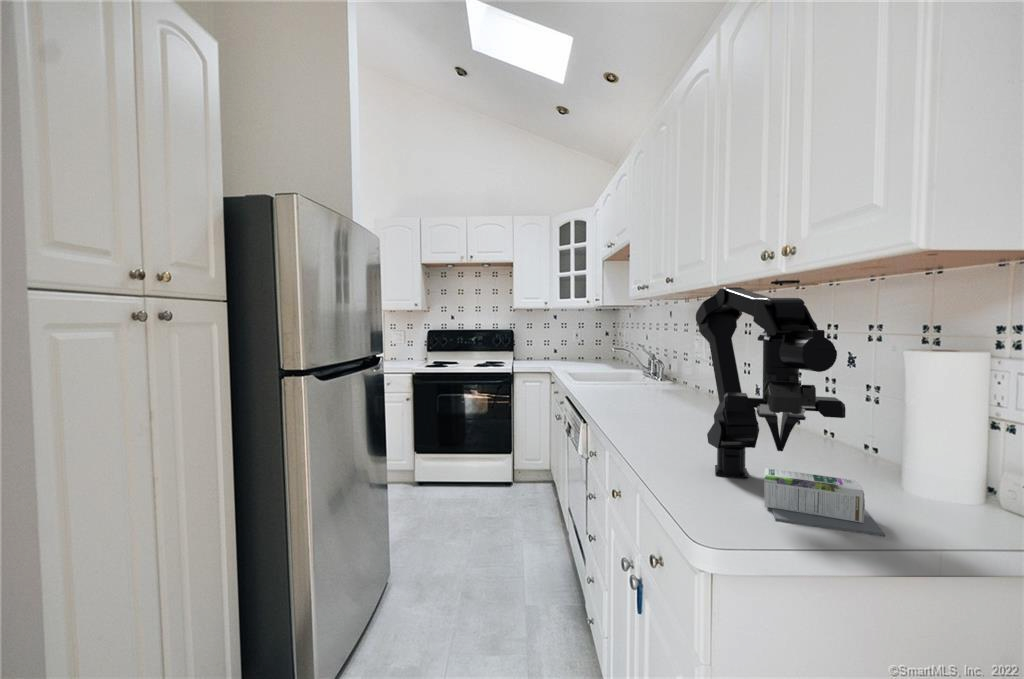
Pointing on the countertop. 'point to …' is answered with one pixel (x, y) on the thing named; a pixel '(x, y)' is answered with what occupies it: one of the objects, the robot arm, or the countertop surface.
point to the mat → (829, 522)
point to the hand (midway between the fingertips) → (779, 450)
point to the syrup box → (814, 494)
